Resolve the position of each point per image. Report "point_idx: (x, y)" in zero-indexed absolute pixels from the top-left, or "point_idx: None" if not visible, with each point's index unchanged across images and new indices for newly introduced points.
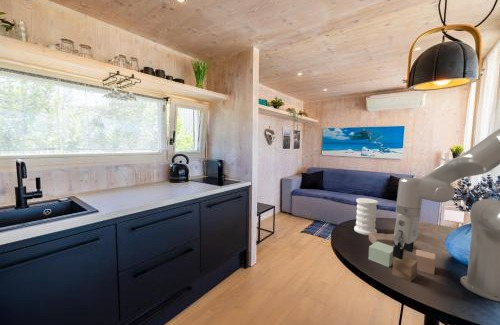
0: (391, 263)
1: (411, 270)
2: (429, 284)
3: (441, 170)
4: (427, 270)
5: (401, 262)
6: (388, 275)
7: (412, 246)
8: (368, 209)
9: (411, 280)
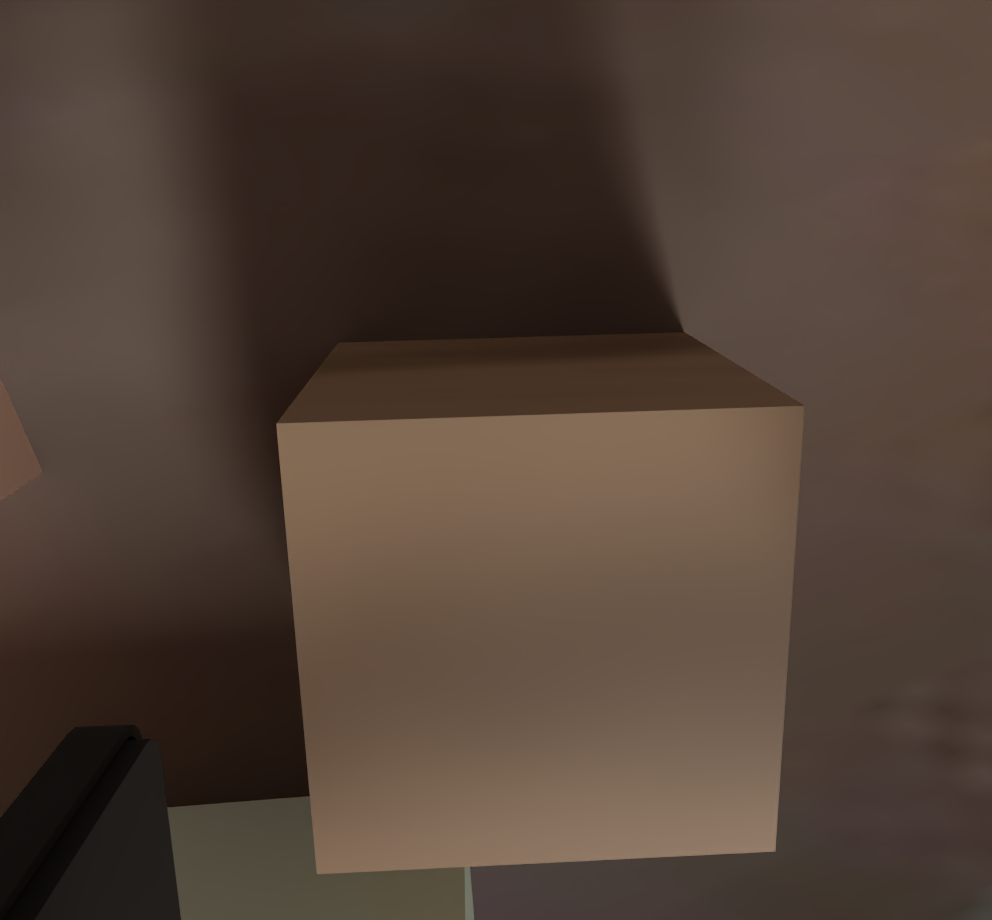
0: None
1: (754, 381)
2: (446, 55)
3: None
4: None
5: (766, 668)
6: None
7: (9, 895)
8: None
9: (638, 335)
